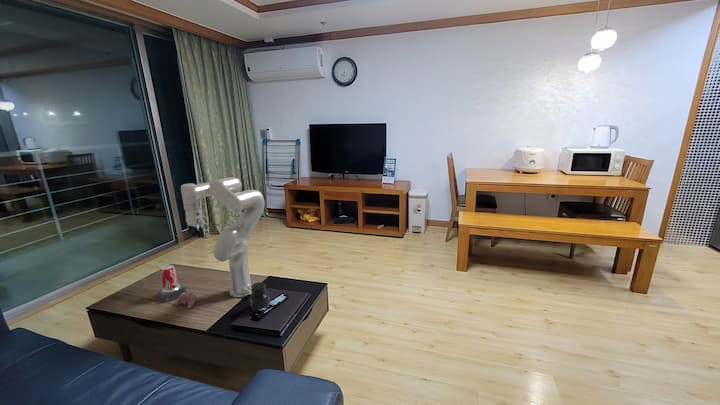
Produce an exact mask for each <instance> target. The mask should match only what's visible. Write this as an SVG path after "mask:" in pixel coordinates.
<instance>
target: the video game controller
mask: <svg viewBox="0 0 720 405" xmlns="http://www.w3.org/2000/svg"><path fill="white" fill-rule="evenodd" d="M186 292H187V293H181V295H180V296H179V297H178V298H176V301H175V303H174V305H175V306H176V307H177V306H179V305H180V304H181V303H182V304H184V305H186V304H187V308H188V309H191V308H192V307H193V306H194V305H195V303H196V300H197V295H196V294H194V293H192V292H188V291H186Z"/></svg>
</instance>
